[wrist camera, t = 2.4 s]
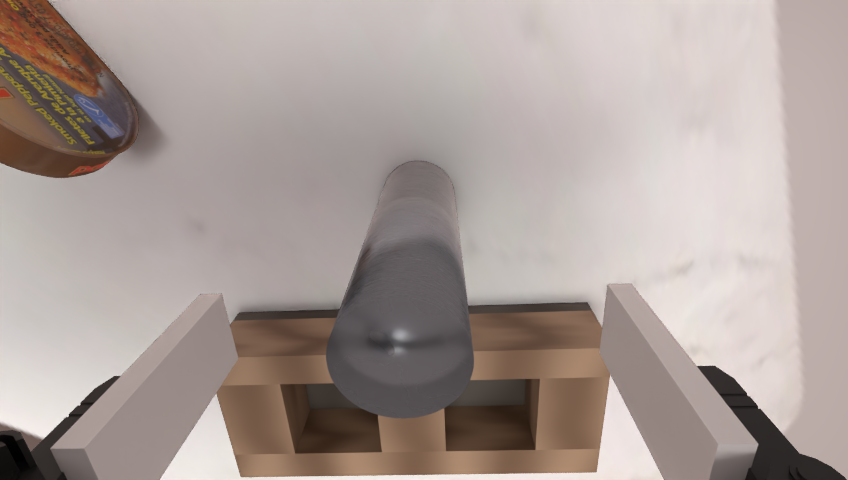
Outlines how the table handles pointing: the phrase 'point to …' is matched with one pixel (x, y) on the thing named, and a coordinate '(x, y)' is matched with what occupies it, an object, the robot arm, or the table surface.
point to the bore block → (432, 434)
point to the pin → (406, 303)
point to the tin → (57, 96)
